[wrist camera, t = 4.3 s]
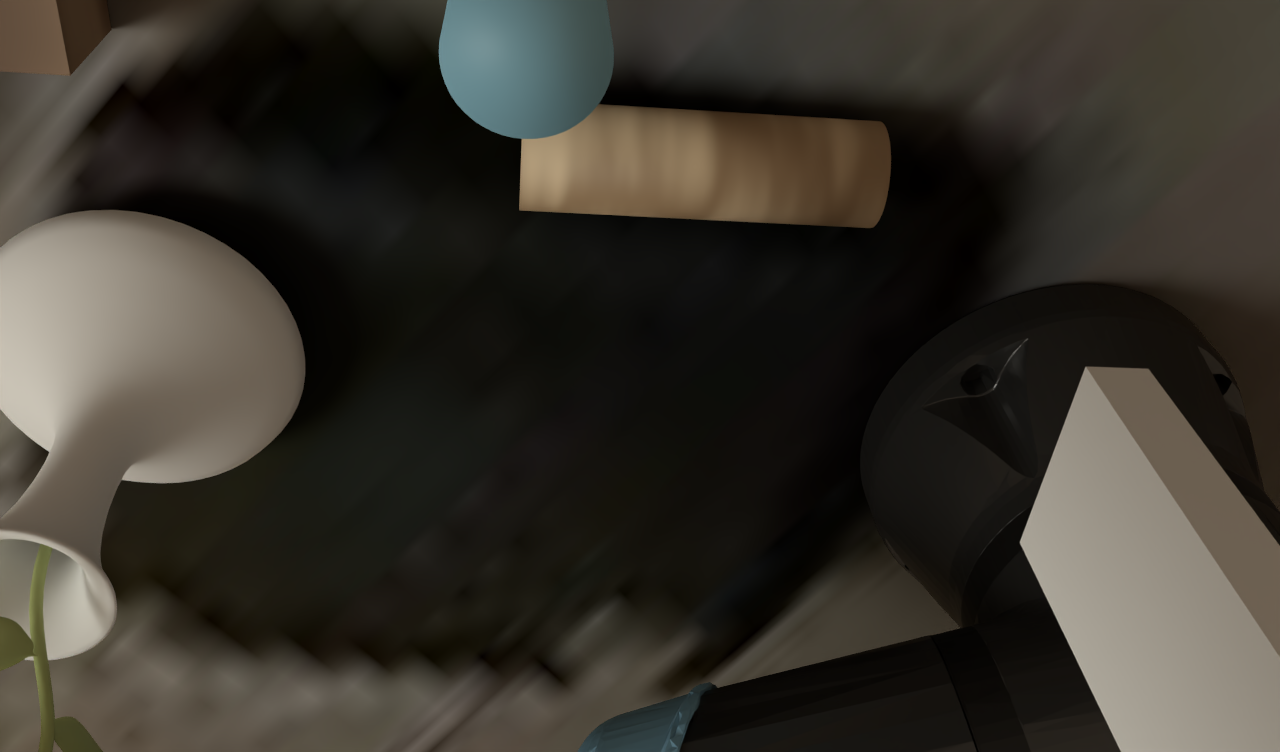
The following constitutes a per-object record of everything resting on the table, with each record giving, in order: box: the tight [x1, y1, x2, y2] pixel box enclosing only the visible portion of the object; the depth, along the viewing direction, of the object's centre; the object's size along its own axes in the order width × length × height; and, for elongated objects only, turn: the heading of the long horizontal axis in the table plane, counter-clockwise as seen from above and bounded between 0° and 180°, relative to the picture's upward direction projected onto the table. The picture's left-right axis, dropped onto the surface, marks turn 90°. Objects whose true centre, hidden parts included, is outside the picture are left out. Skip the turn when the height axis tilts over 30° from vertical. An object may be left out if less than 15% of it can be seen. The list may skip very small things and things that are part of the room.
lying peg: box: [519, 104, 891, 228], centre depth 40 cm, size 12×4×4 cm
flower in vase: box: [0, 210, 305, 752], centre depth 34 cm, size 13×11×25 cm
